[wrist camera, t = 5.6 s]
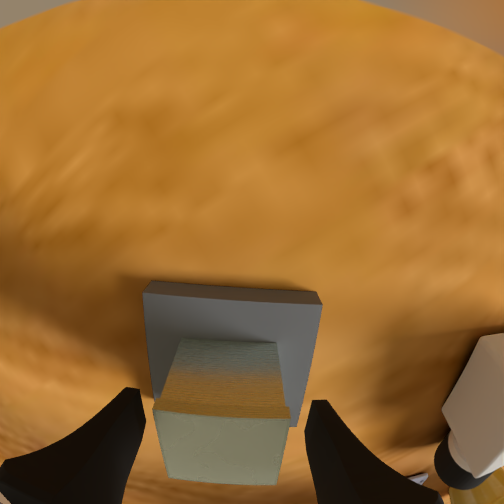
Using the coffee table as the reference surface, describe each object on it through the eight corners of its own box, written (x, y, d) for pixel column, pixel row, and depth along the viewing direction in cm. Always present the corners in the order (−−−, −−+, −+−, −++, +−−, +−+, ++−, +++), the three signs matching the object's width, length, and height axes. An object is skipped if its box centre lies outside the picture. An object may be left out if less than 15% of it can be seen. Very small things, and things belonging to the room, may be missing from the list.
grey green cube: (270, 410, 15) (276, 485, 10) (185, 405, 15) (168, 477, 10) (279, 341, 14) (290, 418, 9) (179, 335, 14) (152, 409, 9)
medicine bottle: (478, 334, 15) (414, 445, 20) (537, 409, 9) (438, 510, 13) (535, 324, 15) (473, 428, 20) (586, 380, 9) (500, 482, 13)
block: (292, 404, 18) (296, 426, 16) (163, 395, 17) (157, 417, 16) (314, 287, 15) (322, 304, 14) (154, 276, 15) (142, 292, 13)
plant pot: (457, 499, 24) (479, 546, 15) (419, 501, 23) (442, 561, 13) (513, 449, 22) (543, 495, 13) (486, 445, 20) (523, 504, 11)
